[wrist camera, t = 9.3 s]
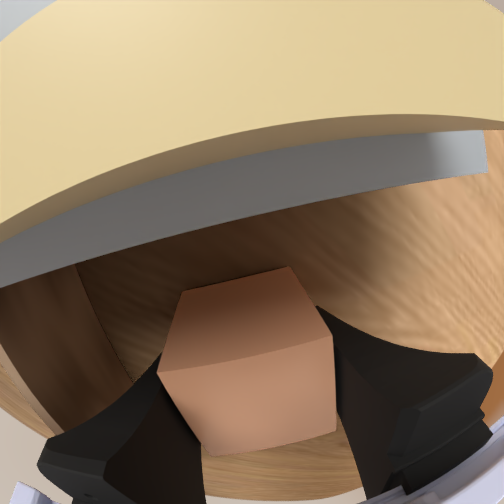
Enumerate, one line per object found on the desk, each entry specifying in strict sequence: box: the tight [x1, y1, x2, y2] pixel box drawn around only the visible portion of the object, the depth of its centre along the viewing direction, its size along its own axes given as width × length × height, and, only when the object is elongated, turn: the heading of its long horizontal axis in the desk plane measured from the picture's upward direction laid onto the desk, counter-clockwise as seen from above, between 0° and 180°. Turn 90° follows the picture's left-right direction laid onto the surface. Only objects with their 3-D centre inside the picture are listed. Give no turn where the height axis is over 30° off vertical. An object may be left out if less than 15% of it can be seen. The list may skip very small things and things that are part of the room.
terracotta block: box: [157, 266, 336, 457], centre depth 9 cm, size 4×4×5 cm
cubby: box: [0, 264, 134, 435], centre depth 9 cm, size 14×14×6 cm
